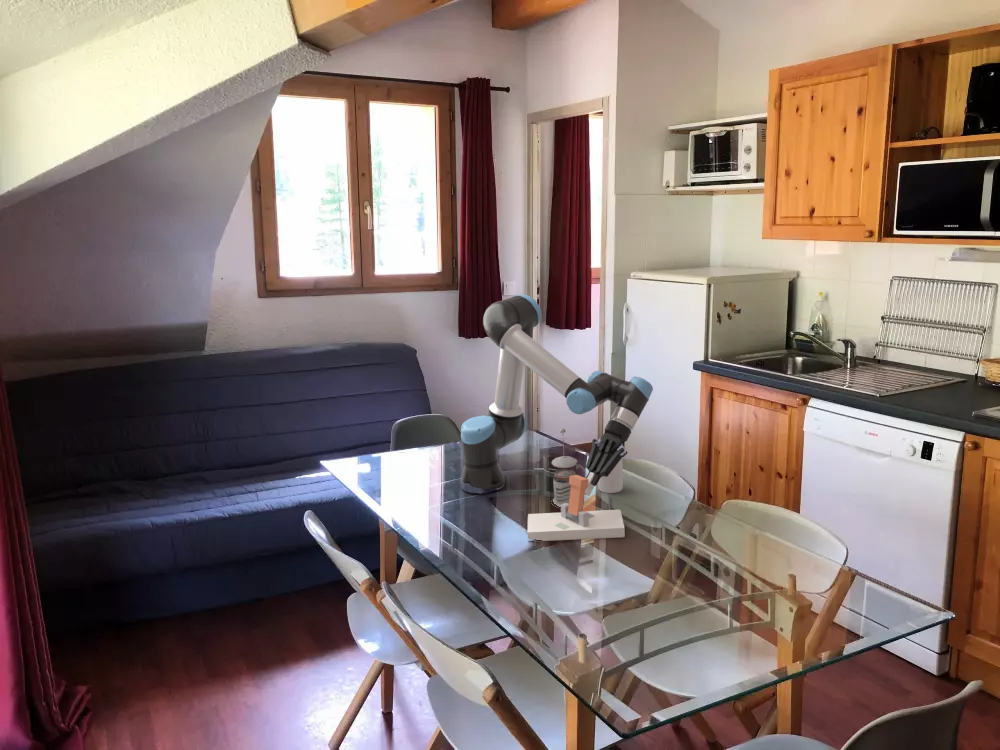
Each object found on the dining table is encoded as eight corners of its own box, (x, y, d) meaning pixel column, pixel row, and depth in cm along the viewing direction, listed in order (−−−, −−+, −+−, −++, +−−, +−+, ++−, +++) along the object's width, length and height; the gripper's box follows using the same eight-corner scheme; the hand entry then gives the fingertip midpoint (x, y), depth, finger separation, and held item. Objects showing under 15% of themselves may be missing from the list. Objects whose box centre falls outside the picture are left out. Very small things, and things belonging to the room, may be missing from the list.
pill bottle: (622, 494, 260) (621, 450, 256) (597, 493, 261) (595, 450, 257) (623, 484, 267) (622, 441, 263) (599, 483, 269) (597, 441, 265)
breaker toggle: (572, 516, 240) (577, 474, 238) (583, 521, 236) (588, 479, 234) (564, 517, 238) (569, 475, 236) (576, 522, 234) (581, 480, 233)
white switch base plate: (528, 541, 233) (526, 519, 231) (528, 523, 245) (527, 502, 243) (624, 537, 232) (623, 515, 230) (620, 518, 243) (619, 497, 241)
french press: (550, 496, 263) (546, 424, 256) (586, 493, 262) (582, 421, 255) (551, 509, 253) (547, 434, 246) (588, 507, 252) (585, 432, 246)
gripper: (643, 435, 239) (607, 505, 234) (611, 426, 249) (576, 492, 244) (630, 423, 235) (593, 494, 230) (598, 414, 245) (562, 482, 240)
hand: (584, 493), depth 237 cm, fingers closed
